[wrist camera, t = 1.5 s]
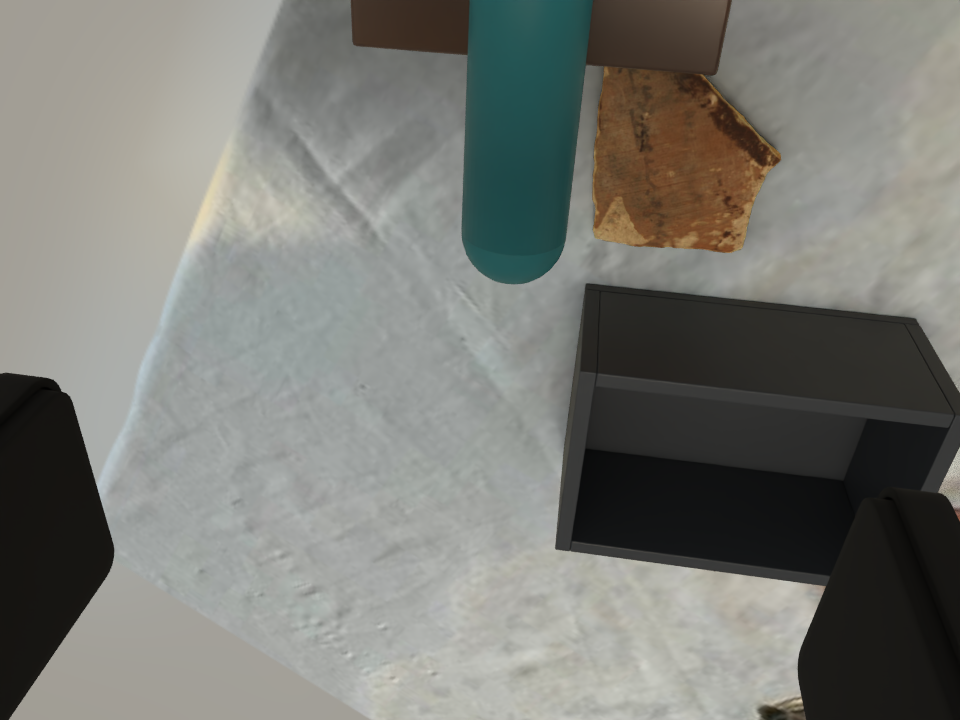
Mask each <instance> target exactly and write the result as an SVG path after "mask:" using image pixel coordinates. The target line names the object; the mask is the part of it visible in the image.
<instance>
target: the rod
mask: <svg viewBox="0 0 960 720" xmlns="http://www.w3.org/2000/svg"><path fill="white" fill-rule="evenodd" d="M592 4H593V0H470V4H469V32H468V61H467V89H466V117H465V146H464V174H463V203H462V241H463V245H464V248H465V251H466V254H467V256H468V258H469V259H470V261H471V263H472V264H473V265H474V266H475V267H476V268H477V269H478V271H480V272H481V273H482V274H483V275H485V276H487V277H488V278H490V279H492V280H494V281H497V282H500V283H505V284H523V283H527V282H530V281H533V280H535V279H537V278H540V277H541V276H543V275H544V274H545V273H546V272H548V271H549V270H550V269H551V268H552V267H553V266H554V264H555V263H556V262H557V260H558V259H559V257H560V255H561V253H562V251H563V248H564V244H565V240H566V233H567V224H568V216H569V207H570V198H571V189H572V180H573V172H574V163H575V154H576V145H577V136H578V127H579V119H580V110H581V101H582V92H583V83H584V75H585V66H586V57H587V48H588V39H589V30H590V22H591V13H592Z"/></svg>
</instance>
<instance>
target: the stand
mask: <svg viewBox="0 0 960 720" xmlns="http://www.w3.org/2000/svg"><path fill="white" fill-rule="evenodd" d="M731 2H732V0H593V4H592V13H591V22H590V30H589V39H588V48H587V57H586V65H592V66H604V67H616V68H629V69H641V70H653V71H665V72H677V73H689V74H702V75H715V74H716V73H717V71H718V67H719V62H720V57H721V52H722V47H723V42H724V37H725V32H726V27H727V22H728V17H729V12H730V7H731ZM469 4H470V0H351V17H352V41H353V44H354V45H356V46H361V47H373V48H385V49H397V50H409V51H422V52H434V53H446V54H458V55H468V32H469Z"/></svg>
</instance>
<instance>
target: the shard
mask: <svg viewBox="0 0 960 720" xmlns="http://www.w3.org/2000/svg"><path fill="white" fill-rule="evenodd" d="M780 160H781V155H780V153H779V152H778V151H777V150H776V149H775V148H773V147H772V146H771V145H769V144H768V143H767V142H766V141H765V140H764V138H763V137H761V136H759V134H758V133H757V132H756V131H755V130H754V129H753V127H752V126H751V125H750V124H749V123H748V122H747V121H746V120H745V118H744V116H742V115H741V114H740V113H739V112H738V111H737V110H736V109H735V108H734V107H733V106H731V105H730V104H729V103H728V102H727V101H726V100H725V99H724V98H722V96H721V94H720V93H719V92H718V91H717V90H716V89H715V88H714V87H713V85H712V84H711V83H710V82H709V81H708V80H707V79H706V78H705V77H704V75H702V74H689V73H677V72H665V71H653V70H641V69H629V68H616V67H604V78H603V86H602V93H601V95H600V101H599V105H598V117H597V135H596V140H595V146H594V162H595V165H594V172H593V193H592V199H593V202H594V204H595V208H596V212H595V219H594V226H593V232H594V236H595V238H596V239H602V240H604V241H609V242H617V243H624V244H627V245H630V246H637V247H642V246H646V247H659V248H664V247H673V248H684V249H705V250H709V251H714V252H722V253H732V252H734V251H736V250H740V249H741V248H742V247H743V244H744V240H745V237H746V231H747V228H746V227H747V225H748V223H749V218H750V214H751V210H752V206H753V204H754V201H755V197H756V196H757V194H758V192H759V190H760V188H761V186H762V183H763V182H764V180H765V177H766V175H767V173H768V172H769V171H770V170H771V169H772V168H773V167H774V166H776V165H777V164H778V163H779V162H780Z"/></svg>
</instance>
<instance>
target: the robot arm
mask: <svg viewBox="0 0 960 720" xmlns="http://www.w3.org/2000/svg"><path fill="white" fill-rule="evenodd" d="M113 559H114V545H113V541H112V538H111V534H110V531H109V527H108V524H107V520H106V517H105V513H104V510H103V507H102V503H101V500H100V496H99V493H98V489H97V486H96V482H95V479H94V475H93V472H92V468H91V465H90V461H89V458H88V454H87V451H86V447H85V444H84V441H83V437H82V434H81V431H80V427H79V423H78V420H77V416H76V413H75V410H74V406H73V402H72V400H71V398H70V396H68V394H67V393H64V392H62V391H61V389H60V387H59V385H58V384H57V383H56V382H55V381H54V380H52V379H49V378H43V377H35V376H27V375H20V374H12V373H3V374H0V720H9V718H10V717H11V715H12V714H13V712H14V711H15V710H16V708H17V707H18V705H19V704H20V702H21V701H22V699H23V698H24V697H25V695H26V693H27V692H28V690H29V689H30V688H31V686H32V685H33V683H34V682H35V680H36V679H37V677H38V676H39V675H40V673H41V672H42V670H43V669H44V667H45V666H46V664H47V663H48V662H49V660H50V659H51V657H52V656H53V654H54V653H55V651H56V650H57V648H58V647H59V645H60V644H61V643H62V641H63V640H64V638H65V637H66V635H67V634H68V632H69V631H70V629H71V628H72V626H73V625H74V623H75V622H76V621H77V619H78V618H79V616H80V615H81V613H82V612H83V610H84V609H85V608H86V606H87V605H88V603H89V602H90V600H91V599H92V597H93V596H94V594H95V593H96V592H97V590H98V588H99V587H100V586H101V584H102V583H103V581H104V580H105V578H106V577H107V575H108V573H109V572H110V569H111V566H112V563H113ZM798 680H799V686H800V691H801V696H802V701H803V706H804V711H805V716H806V720H960V521H959V519H958V517H957V515H956V513H955V511H954V509H953V507H952V505H951V503H950V501H949V500H948V498H947V497H946V496H944V495H943V494H941V493H933V492H926V491H918V490H910V489H902V488H895V487H886V488H884V489H883V490H882V491H881V492H880V494H879V496H878V497H877V498H870V497H868V498H865V499H864V500H863V501H862V502H861V504H860V506H859V508H858V511H857V513H856V515H855V518H854V520H853V523H852V525H851V528H850V530H849V532H848V535H847V537H846V540H845V542H844V545H843V547H842V549H841V552H840V554H839V557H838V559H837V561H836V564H835V566H834V569H833V571H832V574H831V576H830V578H829V581H828V583H827V586H826V588H825V591H824V593H823V595H822V598H821V600H820V603H819V605H818V607H817V610H816V612H815V615H814V617H813V620H812V622H811V624H810V627H809V629H808V632H807V634H806V637H805V639H804V641H803V644H802V646H801V649H800V652H799V658H798Z"/></svg>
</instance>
